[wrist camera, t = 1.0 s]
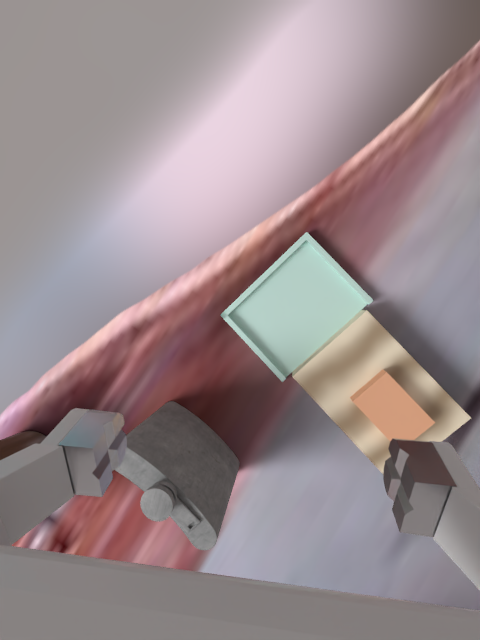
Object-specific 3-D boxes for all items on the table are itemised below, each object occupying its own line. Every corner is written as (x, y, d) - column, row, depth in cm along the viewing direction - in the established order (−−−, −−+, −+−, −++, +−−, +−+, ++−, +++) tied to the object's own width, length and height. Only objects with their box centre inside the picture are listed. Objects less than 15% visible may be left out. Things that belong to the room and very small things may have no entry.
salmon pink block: (429, 417, 46) (435, 422, 44) (395, 445, 47) (399, 451, 45) (382, 369, 47) (386, 372, 45) (349, 397, 48) (352, 401, 46)
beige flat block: (456, 409, 50) (471, 418, 46) (382, 468, 52) (390, 482, 48) (360, 309, 51) (366, 310, 47) (292, 371, 53) (292, 376, 49)
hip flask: (159, 411, 56) (89, 469, 37) (174, 393, 56) (111, 442, 36) (231, 476, 55) (198, 573, 35) (247, 459, 55) (223, 547, 35)
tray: (371, 300, 51) (373, 300, 49) (282, 379, 53) (282, 382, 52) (306, 233, 52) (306, 231, 50) (222, 314, 54) (220, 315, 52)
